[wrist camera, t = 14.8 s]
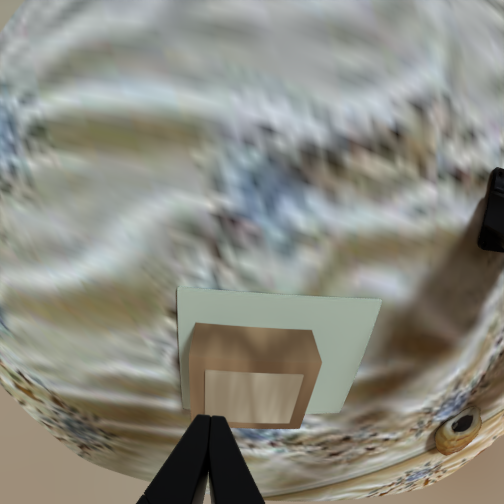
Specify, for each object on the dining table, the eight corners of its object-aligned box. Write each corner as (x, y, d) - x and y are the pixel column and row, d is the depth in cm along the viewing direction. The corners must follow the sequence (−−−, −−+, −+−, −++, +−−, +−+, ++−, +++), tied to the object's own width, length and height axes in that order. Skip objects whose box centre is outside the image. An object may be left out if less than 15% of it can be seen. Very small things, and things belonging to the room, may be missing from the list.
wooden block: (322, 364, 18) (188, 357, 17) (299, 430, 20) (191, 426, 20) (311, 329, 21) (195, 322, 21) (293, 396, 24) (195, 391, 23)
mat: (379, 298, 21) (382, 301, 21) (338, 409, 25) (339, 412, 25) (178, 286, 20) (177, 289, 20) (183, 405, 24) (182, 408, 24)
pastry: (468, 432, 31) (477, 450, 28) (429, 453, 32) (438, 472, 29) (477, 399, 28) (490, 419, 25) (433, 423, 29) (444, 446, 25)
